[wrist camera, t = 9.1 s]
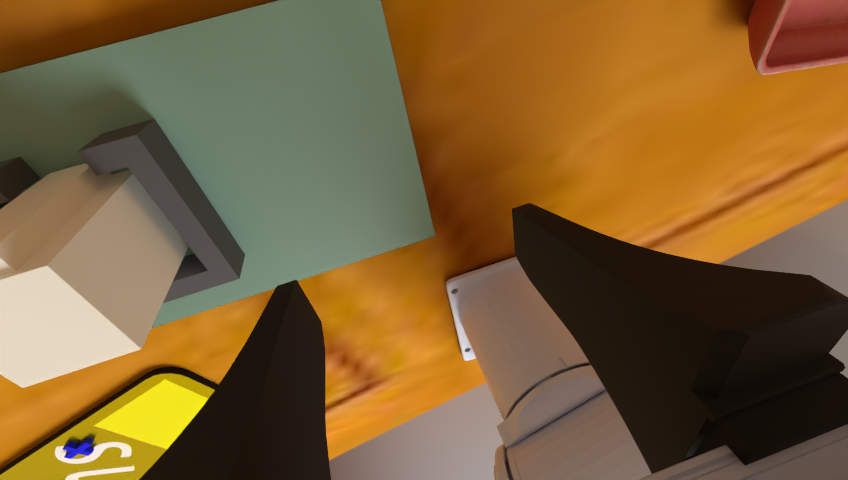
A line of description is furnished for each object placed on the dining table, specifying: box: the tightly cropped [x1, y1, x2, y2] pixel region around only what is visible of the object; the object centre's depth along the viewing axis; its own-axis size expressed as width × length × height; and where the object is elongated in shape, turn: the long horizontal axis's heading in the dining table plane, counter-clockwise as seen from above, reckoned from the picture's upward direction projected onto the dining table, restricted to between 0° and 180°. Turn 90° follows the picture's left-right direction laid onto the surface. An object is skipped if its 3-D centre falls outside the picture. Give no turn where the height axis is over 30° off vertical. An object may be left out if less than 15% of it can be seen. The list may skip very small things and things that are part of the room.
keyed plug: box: [0, 163, 189, 388], centre depth 14 cm, size 5×4×7 cm
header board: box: [0, 0, 435, 328], centre depth 17 cm, size 13×18×3 cm
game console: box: [0, 367, 218, 480], centre depth 28 cm, size 18×11×2 cm, turn 122°
